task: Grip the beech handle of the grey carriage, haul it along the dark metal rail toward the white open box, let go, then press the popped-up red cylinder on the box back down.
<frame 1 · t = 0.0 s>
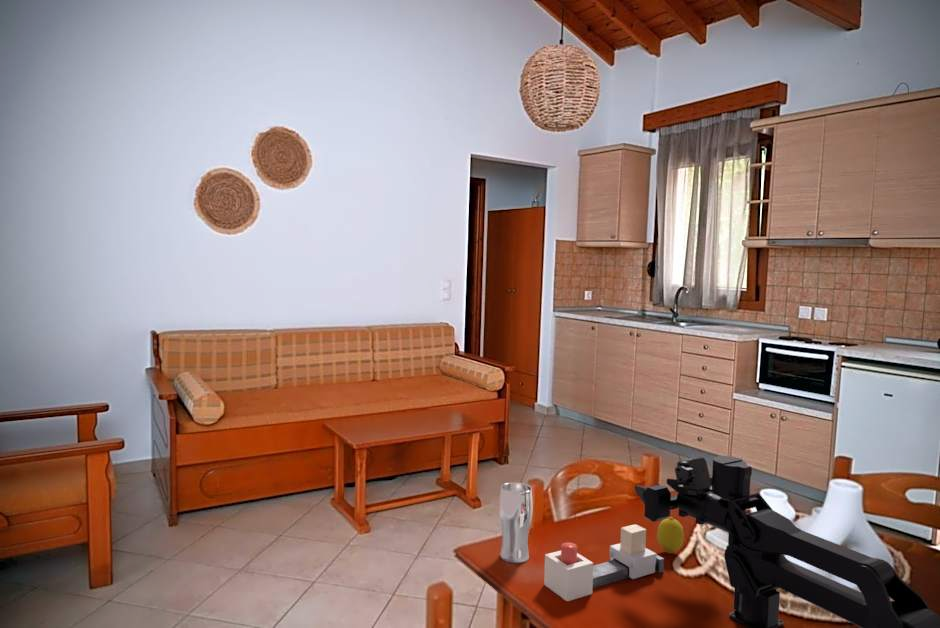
hand: (651, 484, 129), 17 cm above the table, tool horizontal, fingers open, 9 cm apart
rail: (617, 574, 124), on the table
lemon: (669, 554, 134), on the table
carriage: (632, 548, 126), point 4 cm above the table, slide at 0.0 cm
red cylinder: (568, 558, 118), point 6 cm above the table, slide at 0.0 cm
beer glass: (514, 557, 131), on the table
white open box: (567, 589, 118), on the table
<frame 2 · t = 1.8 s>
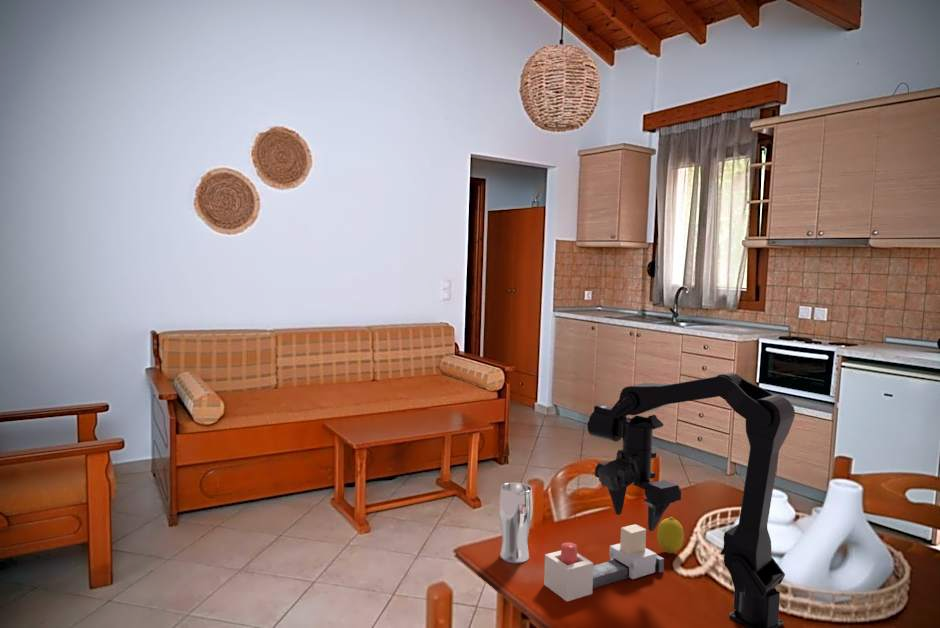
hand: (634, 522, 125), 10 cm above the table, tool pointing down, fingers open, 9 cm apart
nothing on the table moved.
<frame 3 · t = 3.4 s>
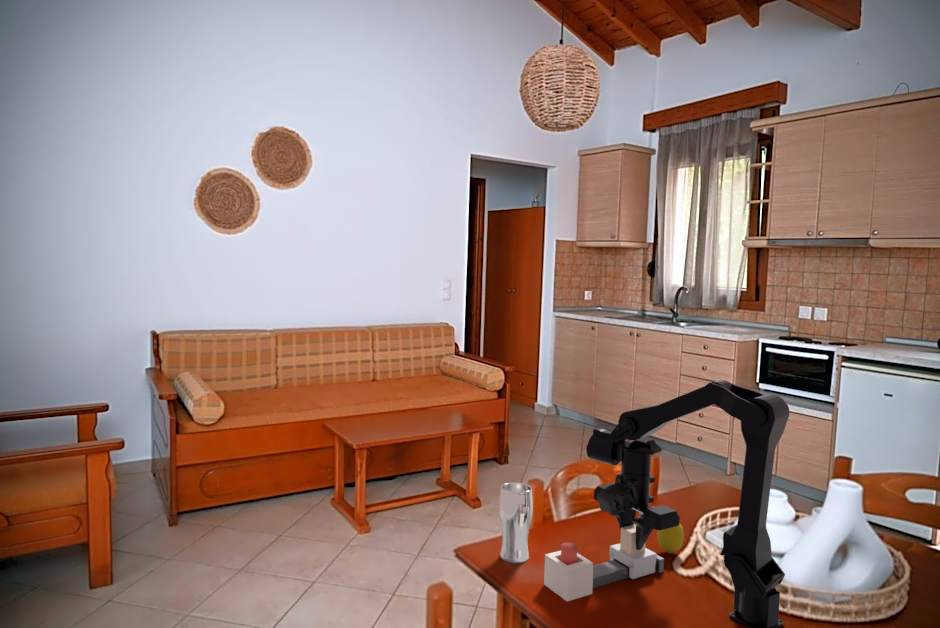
hand: (632, 546, 126), 5 cm above the table, tool pointing down, fingers closed on carriage, 3 cm apart
carriage: (632, 548, 126), point 4 cm above the table, slide at 0.0 cm, touching gripper
everything else where it was.
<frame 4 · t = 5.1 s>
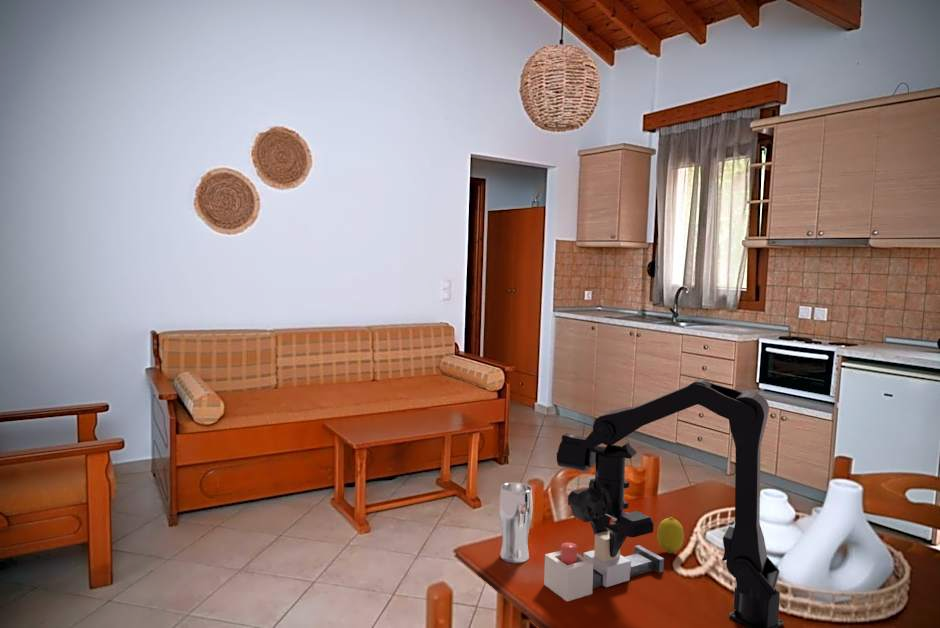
hand: (607, 553, 122), 5 cm above the table, tool pointing down, fingers closed on carriage, 3 cm apart
carriage: (607, 555, 122), point 4 cm above the table, slide at 6.9 cm, touching gripper
everything else where it was.
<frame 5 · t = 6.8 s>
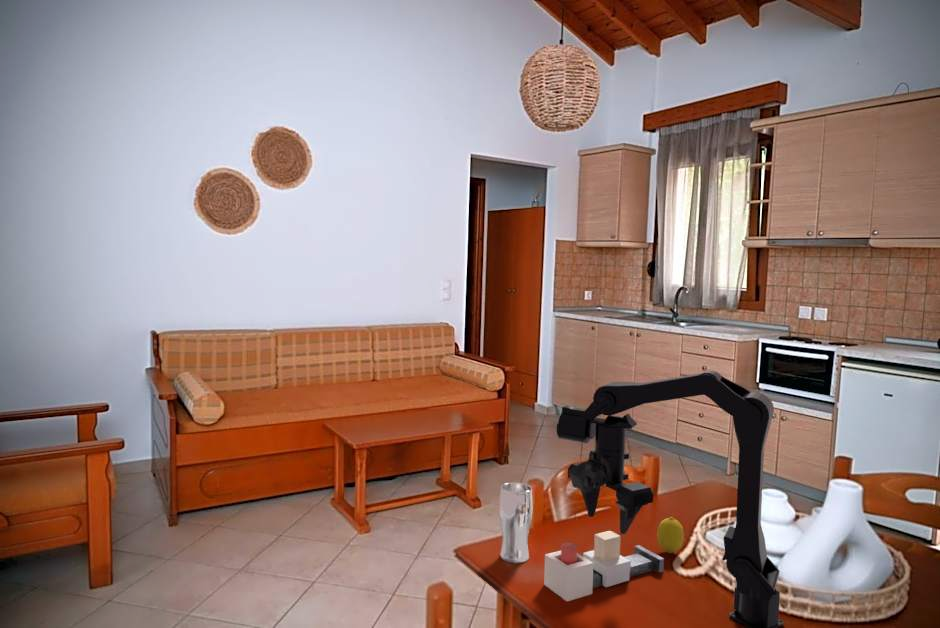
hand: (606, 524, 122), 11 cm above the table, tool pointing down, fingers open, 9 cm apart
carriage: (606, 555, 122), point 4 cm above the table, slide at 7.0 cm
everything else where it was.
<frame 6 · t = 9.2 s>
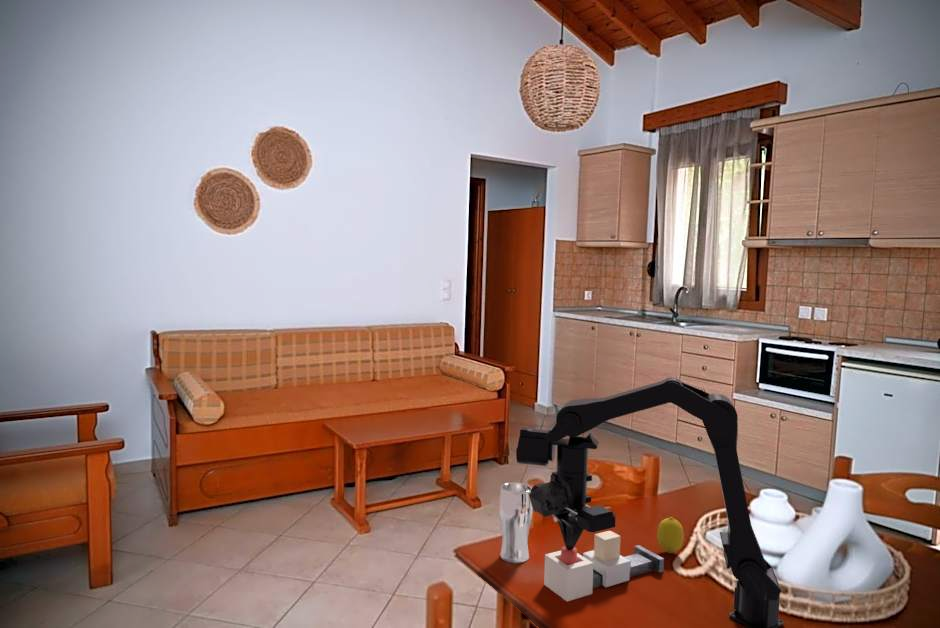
hand: (569, 549, 118), 8 cm above the table, tool pointing down, fingers closed, pressing on red cylinder
red cylinder: (568, 562, 118), point 5 cm above the table, slide at 0.7 cm, touching gripper
everything else where it was.
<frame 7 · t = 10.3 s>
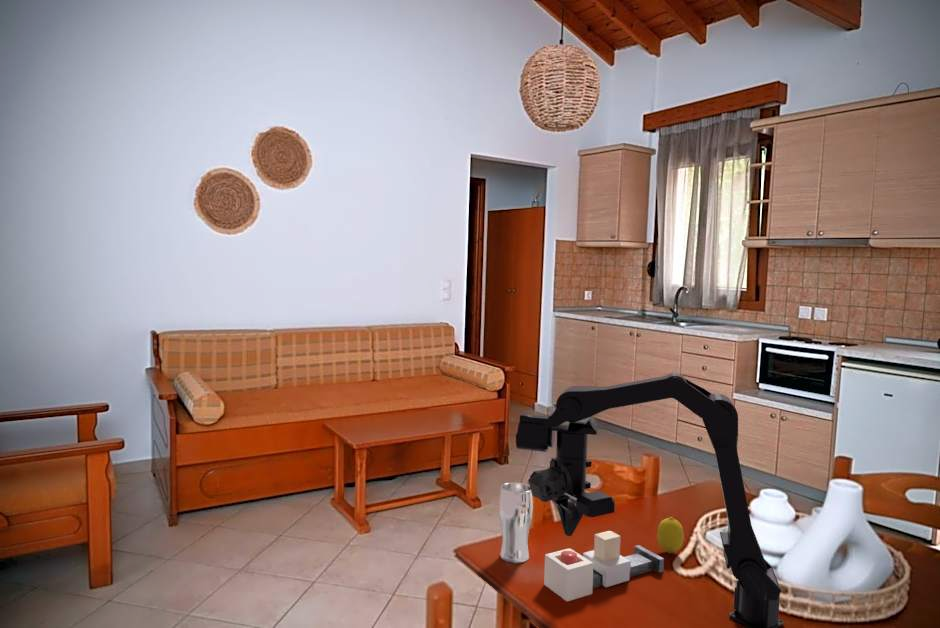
hand: (568, 535, 117), 10 cm above the table, tool pointing down, fingers closed
red cylinder: (568, 567, 118), point 4 cm above the table, slide at 1.7 cm
everything else where it was.
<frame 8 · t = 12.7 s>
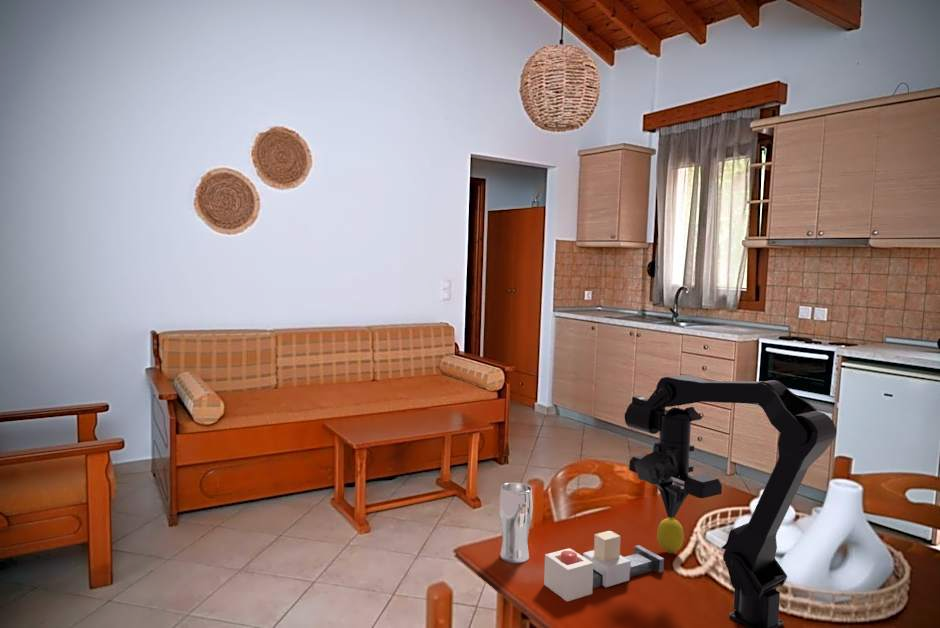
hand: (671, 517, 122), 13 cm above the table, tool pointing down, fingers closed
nothing on the table moved.
at the end: carriage slide at 7.0 cm; red cylinder slide at 1.7 cm; the gripper is holding nothing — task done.
